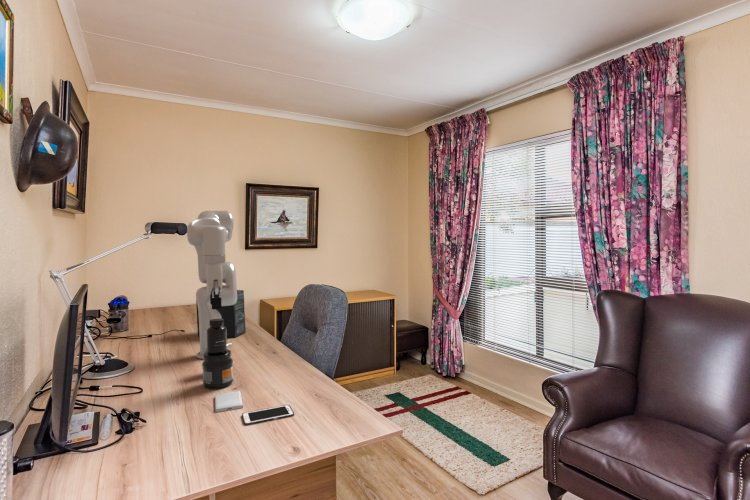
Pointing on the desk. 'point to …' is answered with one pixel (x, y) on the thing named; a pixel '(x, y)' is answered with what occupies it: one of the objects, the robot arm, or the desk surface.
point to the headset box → (232, 316)
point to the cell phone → (267, 414)
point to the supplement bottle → (216, 337)
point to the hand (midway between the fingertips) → (215, 306)
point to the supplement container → (217, 370)
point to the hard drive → (228, 401)
